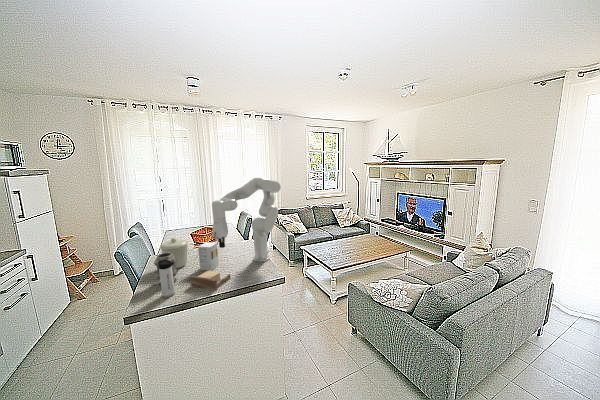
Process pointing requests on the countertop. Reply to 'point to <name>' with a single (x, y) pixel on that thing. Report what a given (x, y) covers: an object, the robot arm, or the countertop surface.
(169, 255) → the apothecary jar
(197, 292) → the countertop surface
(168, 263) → the travel mug
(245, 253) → the countertop surface
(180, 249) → the canister
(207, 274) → the kraft carton
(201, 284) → the stand
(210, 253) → the supplement box
